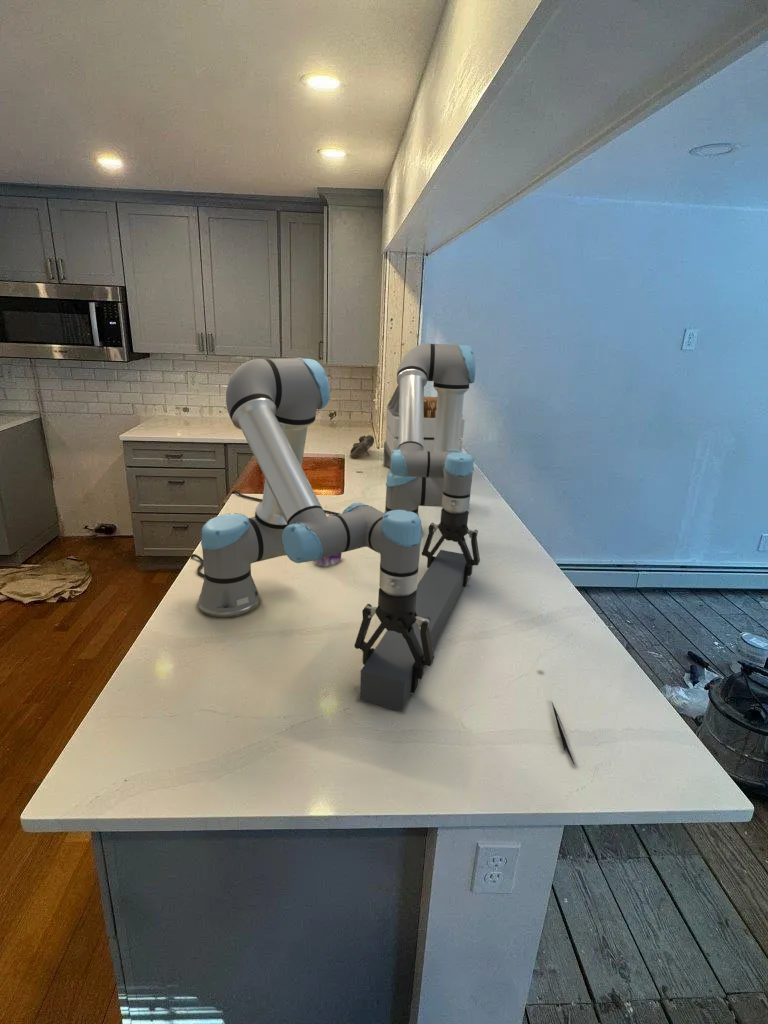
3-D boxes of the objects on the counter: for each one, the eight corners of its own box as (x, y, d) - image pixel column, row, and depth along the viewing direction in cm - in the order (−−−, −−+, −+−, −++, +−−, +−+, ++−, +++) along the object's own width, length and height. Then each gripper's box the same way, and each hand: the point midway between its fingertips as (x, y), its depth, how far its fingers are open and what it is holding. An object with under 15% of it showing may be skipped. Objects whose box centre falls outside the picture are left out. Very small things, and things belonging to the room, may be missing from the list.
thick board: (438, 570, 172) (440, 549, 170) (468, 576, 170) (470, 555, 167) (359, 699, 115) (360, 670, 112) (402, 711, 112) (404, 681, 109)
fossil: (350, 441, 314) (371, 426, 309) (360, 454, 317) (382, 440, 312) (343, 455, 294) (366, 439, 289) (355, 469, 297) (378, 453, 292)
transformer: (382, 463, 289) (386, 382, 275) (445, 464, 293) (451, 384, 279) (390, 482, 257) (394, 392, 243) (460, 483, 261) (468, 394, 247)
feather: (541, 676, 126) (546, 670, 126) (574, 768, 100) (581, 761, 99) (535, 672, 126) (540, 666, 126) (566, 764, 100) (573, 756, 99)
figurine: (319, 569, 170) (319, 523, 165) (307, 556, 178) (307, 511, 173) (348, 564, 174) (349, 519, 169) (335, 552, 182) (336, 508, 177)
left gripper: (339, 585, 111) (336, 680, 119) (447, 608, 105) (437, 708, 113) (353, 570, 118) (350, 661, 126) (456, 591, 111) (446, 686, 119)
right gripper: (413, 507, 157) (408, 579, 165) (492, 519, 150) (483, 594, 158) (420, 499, 163) (415, 569, 171) (496, 511, 157) (487, 583, 165)
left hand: (391, 683), depth 119 cm, fingers closed on thick board, 9 cm apart
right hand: (448, 581), depth 165 cm, fingers closed on thick board, 9 cm apart
